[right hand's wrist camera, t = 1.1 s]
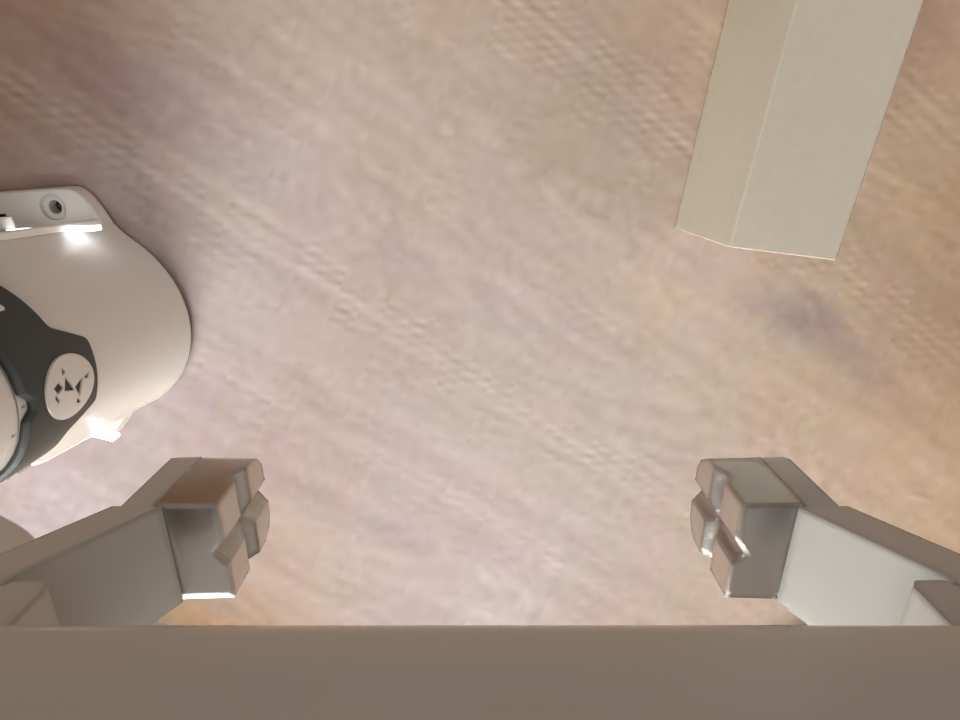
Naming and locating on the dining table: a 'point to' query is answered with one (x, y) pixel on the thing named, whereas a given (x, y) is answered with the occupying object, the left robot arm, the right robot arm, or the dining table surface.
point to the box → (793, 121)
